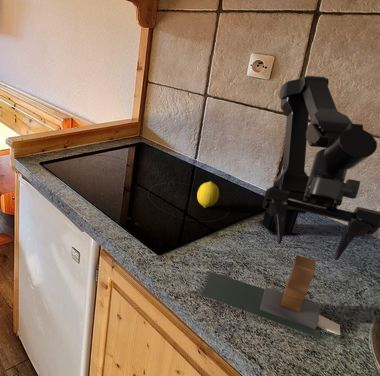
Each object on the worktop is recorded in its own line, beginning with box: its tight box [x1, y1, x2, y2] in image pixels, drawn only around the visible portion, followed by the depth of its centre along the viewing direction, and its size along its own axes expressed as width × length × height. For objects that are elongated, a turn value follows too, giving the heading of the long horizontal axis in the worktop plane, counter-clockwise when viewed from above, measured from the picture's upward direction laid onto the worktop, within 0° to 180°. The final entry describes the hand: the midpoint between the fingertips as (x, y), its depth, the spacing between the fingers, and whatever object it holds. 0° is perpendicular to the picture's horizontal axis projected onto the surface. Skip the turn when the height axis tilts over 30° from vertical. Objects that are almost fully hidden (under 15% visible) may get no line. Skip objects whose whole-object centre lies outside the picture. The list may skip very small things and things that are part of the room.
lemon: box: [196, 181, 220, 209], centre depth 113 cm, size 6×6×8 cm
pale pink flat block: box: [317, 314, 341, 336], centre depth 72 cm, size 4×3×1 cm
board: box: [200, 271, 322, 339], centre depth 78 cm, size 20×9×1 cm, turn 57°
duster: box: [260, 255, 320, 329], centre depth 73 cm, size 9×5×11 cm, turn 57°
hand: (307, 251), depth 75 cm, fingers open, 9 cm apart
